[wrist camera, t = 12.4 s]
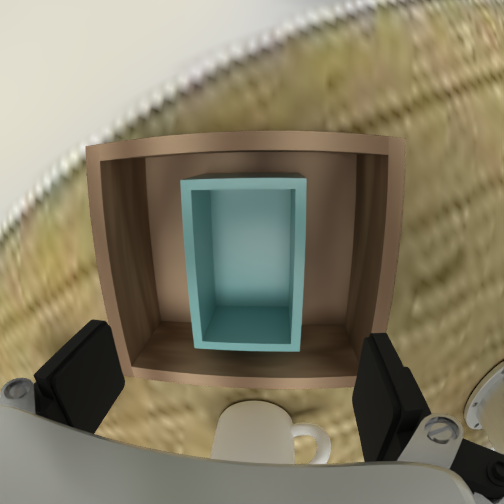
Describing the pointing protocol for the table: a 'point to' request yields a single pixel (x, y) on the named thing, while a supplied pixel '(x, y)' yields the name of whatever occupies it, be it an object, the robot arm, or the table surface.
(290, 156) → the big crate
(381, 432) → the robot arm
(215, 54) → the table surface
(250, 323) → the small crate
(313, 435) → the mug
